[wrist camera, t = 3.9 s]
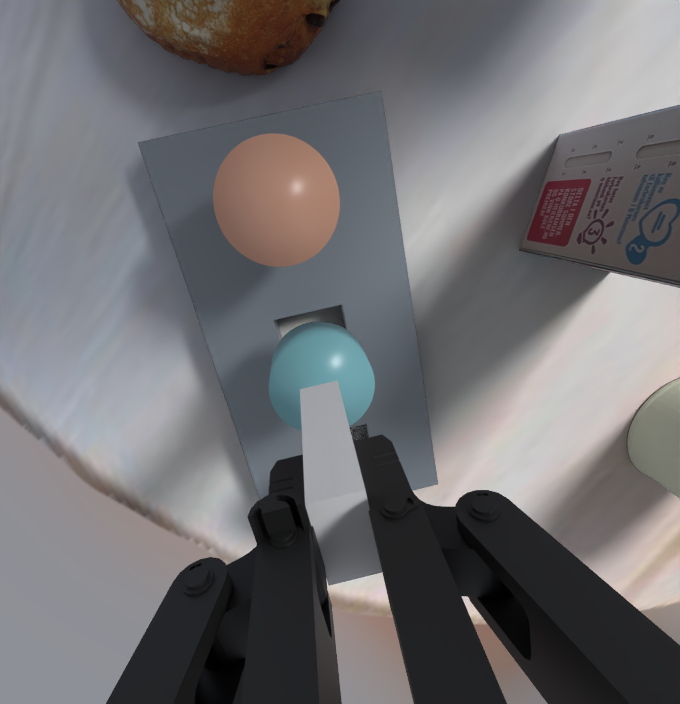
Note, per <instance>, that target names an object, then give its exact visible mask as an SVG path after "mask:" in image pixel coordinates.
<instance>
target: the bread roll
mask: <svg viewBox="0 0 680 704" xmlns="http://www.w3.org/2000/svg"><path fill="white" fill-rule="evenodd" d="M339 1H340V0H118V2H119V3H120V5H121V6H122V7H123V9H124V10H125V11H126V13H127V14H128V15H129V17H130V18H131V19H132V20H133V21H134V22H135V23H136V24H137V25H138V26H139V27H140V28H141V29H142V30H143V31H144V33H145V34H146V35H147V36H148V37H150V38H151V39H152V40H154V41H156V42H157V43H159V44H160V45H161V46H162V47H163V48H164V49H166V50H167V51H169V52H172V53H174V54H177V55H179V56H181V57H182V58H184V59H190V60H194V61H196V62H197V63H199V64H208V65H209V66H210V67H211V68H215V69H220V70H223V71H226V72H233V73H239V74H241V75H266V74H269V73H271V72H273V71H274V70H276V69H277V68H279V67H283V66H286V65H289V64H292V63H293V62H294V61H296V60H297V59H299V58H300V56H301V55H302V54H303V53H304V52H305V50H306V49H307V48H308V46H309V45H310V44H311V43H312V41H313V39H314V38H315V37H316V36H317V35H318V34H319V32H320V31H321V29H322V27H323V26H324V24H325V22H326V20H327V18H328V12H331V10H332V7H334V6H335V5H336V4H337V3H338V2H339Z"/></svg>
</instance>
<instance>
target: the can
mask: <svg viewBox="0 0 680 704" xmlns="http://www.w3.org/2000/svg"><path fill="white" fill-rule="evenodd" d="M627 448H628V453H629V457H630V459H631V461H632V463H633V464H634V466H635V467H636V468H637V469H638V470H639V471H640V472H642V473H643V474H645V475H647V476H649V477H651V478H653V479H654V480H655V481H657V482H658V483H659V484H661V485H662V486H664V487H665V488H666V489H668V490H669V491H670V492H672V493H673V494H674V495H676V496H677V497H678V498H679V499H680V378H678V379H676V380H674V381H672V382H670V383H668V384H666V385H665V386H663V387H662V388H660V389H659V390H658V391H656V392H655V393H654V394H653V395H652V396H651V397H650V398H649V399H648V400H647V401H646V402H645V403H644V404H643V405H642V407H641V408H640V409H639V411H638V412H637V414H636V416H635V417H634V419H633V421H632V424H631V426H630V429H629V433H628V439H627Z"/></svg>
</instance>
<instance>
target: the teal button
mask: <svg viewBox="0 0 680 704" xmlns="http://www.w3.org/2000/svg"><path fill="white" fill-rule="evenodd" d="M333 381H338V384H339V388H340V392H341V396H342V400H343V404H344V408H345V412H346V416H347V420H348V424H349V426H351V425H352V424H354V423H355V422H356V421H358V420H359V419H360V418H361V417H362V416H363V414H364V413H365V412H366V411H367V409H368V407H369V406H370V404H371V401H372V399H373V395H374V390H375V379H374V373H373V370H372V367H371V365H370V363H369V361H368V359H367V357H366V354H365V352H364V350H363V348H362V346H361V344H360V343H359V341H358V340H357V338H356V337H355V336H354V335H353V334H352V333H351V332H349V331H348V330H347V329H345V328H343V327H341V326H339V325H337V324H334V323H329V322H310V323H306V324H303V325H300V326H298V327H296V328H294V329H293V330H291V331H290V332H288V333H287V334H286V335H285V336H284V337H283V338H282V339H281V340H280V342H279V343H278V345H277V347H276V349H275V351H274V354H273V357H272V362H271V370H270V378H269V396H270V400H271V403H272V405H273V407H274V409H275V411H276V413H277V414H278V415H279V417H280V418H281V419H282V420H283V421H284V422H286V423H287V424H288V425H290V426H291V427H293V428H295V429H297V430H299V431H302V425H301V402H300V389H303V388H307V387H312V386H316V385H320V384H324V383H329V382H333Z"/></svg>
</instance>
